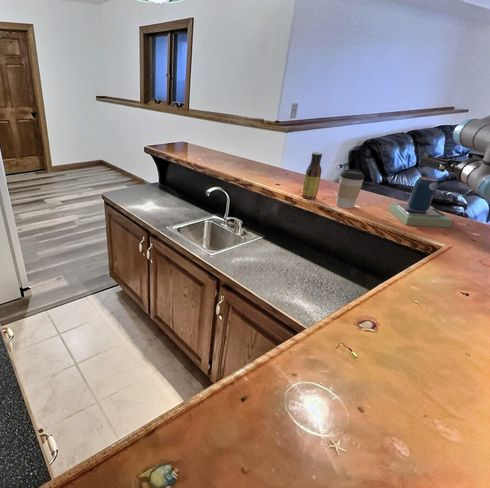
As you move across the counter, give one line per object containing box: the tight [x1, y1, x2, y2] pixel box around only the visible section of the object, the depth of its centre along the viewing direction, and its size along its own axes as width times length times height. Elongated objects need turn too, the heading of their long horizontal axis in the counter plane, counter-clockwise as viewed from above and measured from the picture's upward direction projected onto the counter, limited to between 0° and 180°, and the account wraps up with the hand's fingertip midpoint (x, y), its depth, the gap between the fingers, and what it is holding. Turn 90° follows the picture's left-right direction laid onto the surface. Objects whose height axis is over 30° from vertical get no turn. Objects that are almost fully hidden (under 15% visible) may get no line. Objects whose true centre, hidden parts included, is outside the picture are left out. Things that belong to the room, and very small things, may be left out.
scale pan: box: [395, 202, 441, 217], centre depth 134 cm, size 11×11×1 cm
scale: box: [388, 203, 453, 228], centre depth 135 cm, size 15×15×3 cm
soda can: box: [407, 176, 439, 212], centre depth 131 cm, size 7×7×12 cm
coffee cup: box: [335, 168, 365, 209], centre depth 144 cm, size 9×9×15 cm
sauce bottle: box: [301, 151, 323, 200], centre depth 152 cm, size 7×6×20 cm
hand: (448, 157), depth 116 cm, fingers open, 13 cm apart
